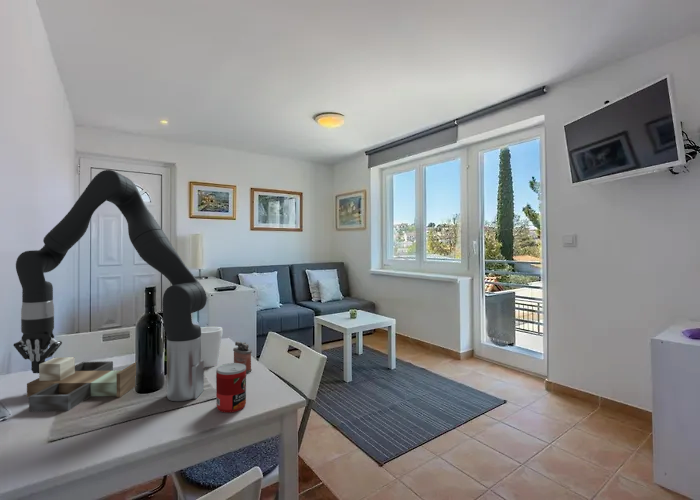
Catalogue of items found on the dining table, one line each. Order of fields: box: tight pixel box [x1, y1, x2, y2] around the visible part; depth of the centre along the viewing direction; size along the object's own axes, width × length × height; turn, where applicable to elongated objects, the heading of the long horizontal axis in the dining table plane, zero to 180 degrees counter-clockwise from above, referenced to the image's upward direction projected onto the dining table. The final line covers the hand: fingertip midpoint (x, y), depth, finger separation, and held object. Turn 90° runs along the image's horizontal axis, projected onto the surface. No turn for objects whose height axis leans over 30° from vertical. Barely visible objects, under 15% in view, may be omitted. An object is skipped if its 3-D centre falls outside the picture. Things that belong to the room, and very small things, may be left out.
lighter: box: [232, 341, 253, 374], centre depth 126 cm, size 8×3×10 cm, turn 58°
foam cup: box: [200, 326, 223, 368], centre depth 133 cm, size 10×9×13 cm
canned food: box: [215, 362, 247, 414], centre depth 99 cm, size 8×8×11 cm
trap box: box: [26, 360, 137, 412], centre depth 109 cm, size 27×28×7 cm
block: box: [38, 356, 76, 381], centre depth 109 cm, size 6×6×5 cm
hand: (38, 372), depth 109 cm, fingers closed
